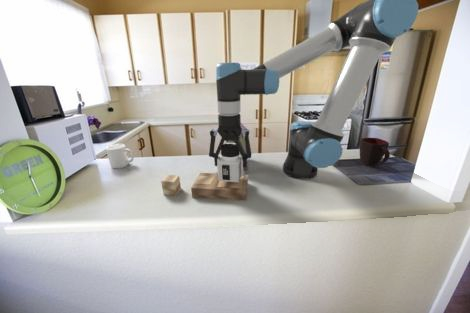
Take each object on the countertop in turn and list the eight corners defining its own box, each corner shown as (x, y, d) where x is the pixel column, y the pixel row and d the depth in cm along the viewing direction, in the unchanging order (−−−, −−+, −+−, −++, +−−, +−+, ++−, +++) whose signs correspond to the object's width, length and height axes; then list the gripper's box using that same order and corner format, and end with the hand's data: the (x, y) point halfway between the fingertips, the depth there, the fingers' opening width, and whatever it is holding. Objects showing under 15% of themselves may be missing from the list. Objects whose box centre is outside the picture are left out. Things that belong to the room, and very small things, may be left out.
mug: (370, 159, 103) (376, 137, 99) (392, 171, 91) (401, 146, 86) (352, 160, 102) (357, 138, 98) (372, 173, 90) (379, 148, 85)
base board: (247, 183, 84) (247, 174, 82) (245, 200, 73) (245, 190, 71) (201, 181, 86) (200, 172, 84) (192, 197, 75) (190, 187, 73)
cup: (117, 161, 106) (112, 143, 102) (139, 161, 106) (135, 143, 102) (107, 168, 99) (101, 149, 95) (131, 168, 98) (126, 149, 94)
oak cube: (180, 188, 81) (179, 175, 79) (176, 195, 76) (173, 181, 74) (169, 187, 82) (167, 174, 79) (163, 194, 77) (161, 181, 75)
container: (239, 182, 72) (238, 149, 67) (218, 181, 74) (216, 147, 69) (242, 172, 79) (242, 141, 74) (223, 171, 81) (222, 140, 76)
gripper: (260, 111, 69) (258, 170, 78) (202, 111, 72) (206, 168, 81) (260, 116, 62) (258, 180, 71) (195, 115, 65) (201, 177, 74)
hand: (230, 173), depth 76 cm, fingers closed on container, 8 cm apart
